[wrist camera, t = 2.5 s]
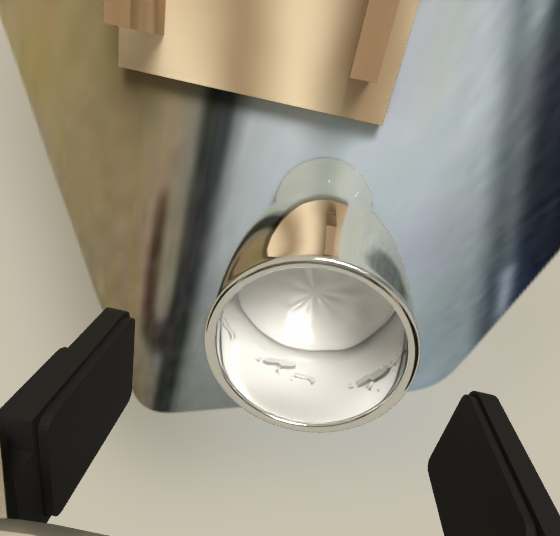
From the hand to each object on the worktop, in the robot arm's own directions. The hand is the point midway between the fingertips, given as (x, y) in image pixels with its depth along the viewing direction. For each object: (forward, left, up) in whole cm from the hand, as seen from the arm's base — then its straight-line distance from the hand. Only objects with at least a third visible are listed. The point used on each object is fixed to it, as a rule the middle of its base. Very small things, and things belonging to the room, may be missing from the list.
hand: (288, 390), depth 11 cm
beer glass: (0, 0, -16) cm, 16 cm away
